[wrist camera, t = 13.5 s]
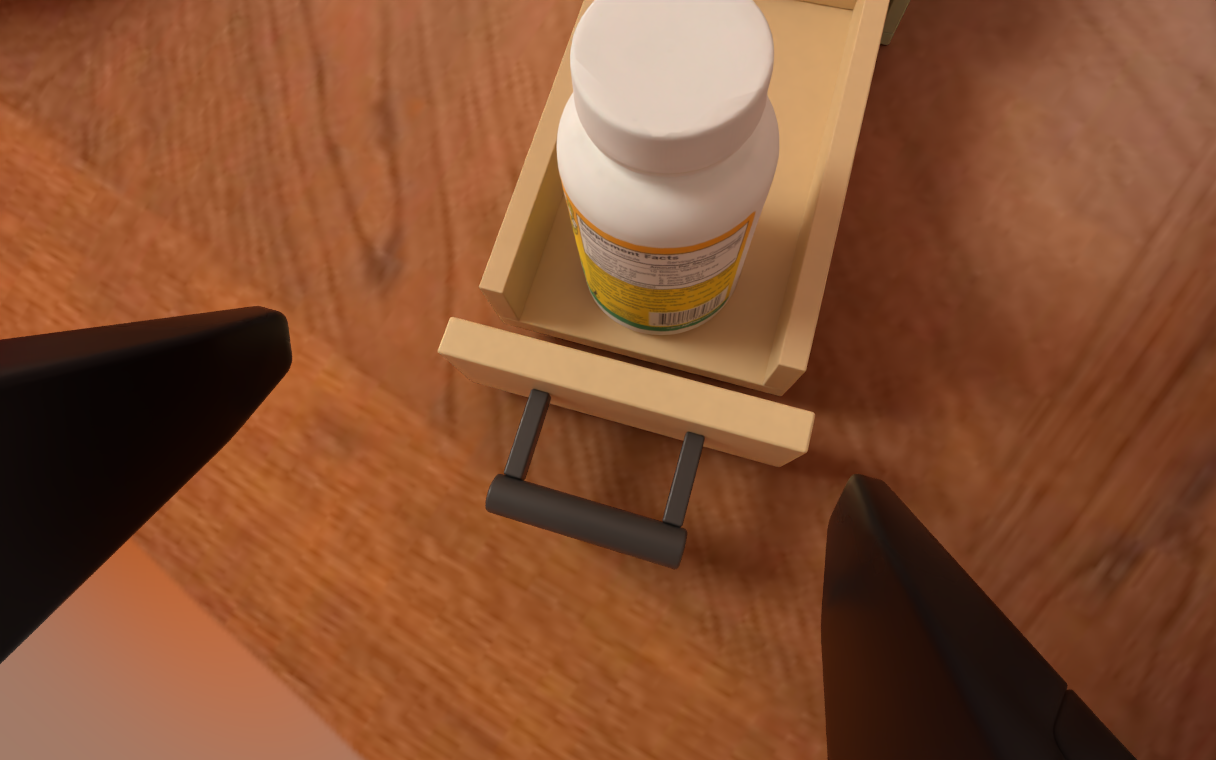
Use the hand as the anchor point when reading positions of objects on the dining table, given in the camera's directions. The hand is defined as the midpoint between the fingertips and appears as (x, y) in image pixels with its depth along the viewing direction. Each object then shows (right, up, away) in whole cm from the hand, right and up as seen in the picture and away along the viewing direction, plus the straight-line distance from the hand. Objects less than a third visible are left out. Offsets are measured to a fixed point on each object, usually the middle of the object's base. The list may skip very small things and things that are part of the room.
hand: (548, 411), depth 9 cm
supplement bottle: (+3, +4, +12) cm, 13 cm away
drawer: (+3, +6, +13) cm, 15 cm away
